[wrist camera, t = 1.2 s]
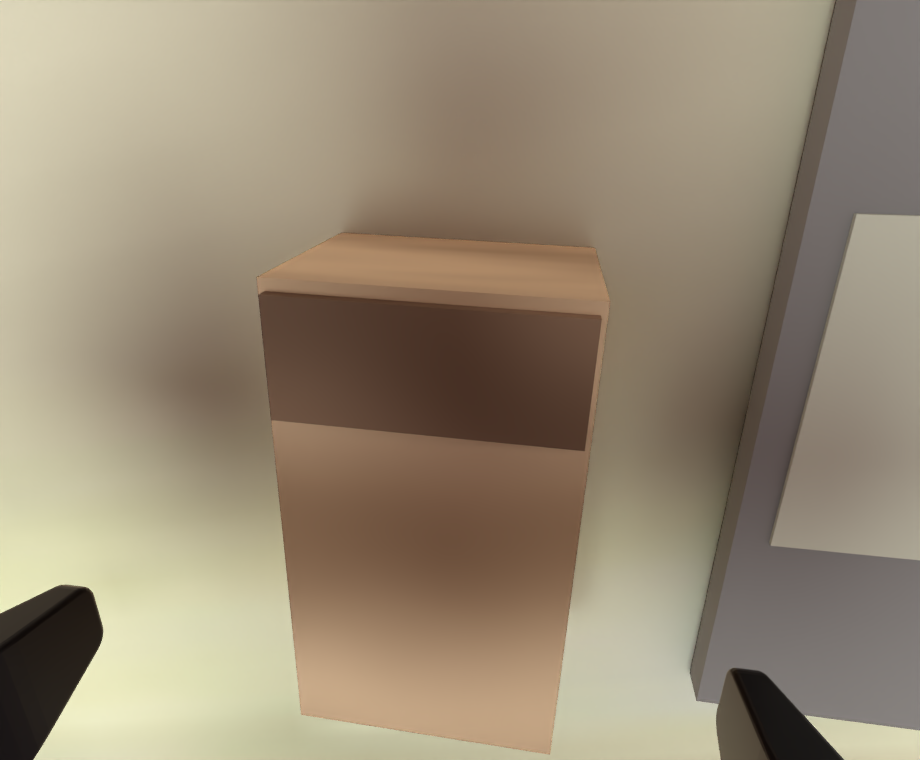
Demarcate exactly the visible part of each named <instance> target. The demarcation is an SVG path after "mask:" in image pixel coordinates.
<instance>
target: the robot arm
mask: <svg viewBox="0 0 920 760" xmlns="http://www.w3.org/2000/svg"><path fill="white" fill-rule="evenodd" d="M102 637H103V626H102V622H101V619H100V615H99V612H98V608H97V605H96V601H95V598H94V595H93V592H92V591H91V590H90V589H89V588H86V587H81V586H73V585H60V586H57V587H54V588H52V589H50V590H48V591H46V592H44V593H42V594H40V595H38V596H36V597H34V598H32V599H30V600H28V601H25V602H23V603H21V604H19V605H17V606H15V607H13V608H11V609H9V610H7V611H5V612H3V613H1V614H0V760H33V759H34V758H35V756H36V755H37V753H38V752H39V750H40V748H41V747H42V745H43V743H44V742H45V740H46V738H47V737H48V735H49V734H50V732H51V730H52V728H53V727H54V725H55V723H56V721H57V720H58V718H59V716H60V715H61V713H62V711H63V709H64V708H65V706H66V704H67V702H68V701H69V699H70V697H71V695H72V694H73V692H74V690H75V688H76V687H77V685H78V683H79V681H80V680H81V678H82V676H83V674H84V673H85V671H86V669H87V667H88V666H89V664H90V662H91V661H92V659H93V657H94V655H95V654H96V652H97V650H98V648H99V646H100V644H101V641H102ZM716 728H717V736H718V743H719V750H720V756H721V760H844V759H843V758H842V757H841V756H840V755H839V754H838V753H837V752H836V750H835V749H834V748H833V747H832V746H831V745H830V744H829V743H828V742H827V741H826V739H825V738H824V737H823V736H822V735H821V734H820V733H819V732H818V731H817V729H816V728H815V727H814V726H813V725H812V724H811V723H810V722H809V721H808V720H807V718H806V717H805V716H804V715H803V714H802V713H801V712H800V711H799V710H798V709H797V707H796V706H795V705H794V704H793V703H792V702H791V701H790V700H789V699H788V698H787V696H786V695H785V694H784V693H783V692H782V691H781V690H780V689H779V688H778V686H777V685H776V684H775V683H774V682H773V681H772V680H771V679H770V678H769V677H768V676H767V675H766V674H765V673H763V672H761V671H758V670H750V669H742V668H731V669H729V670H728V672H727V674H726V677H725V681H724V685H723V689H722V693H721V697H720V701H719V705H718V709H717V715H716Z"/></svg>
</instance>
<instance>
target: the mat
mask: <svg viewBox="0 0 920 760" xmlns="http://www.w3.org/2000/svg"><path fill="white" fill-rule="evenodd" d="M731 668H742V669H750V670H758V671H761V672H763V673H765V674H766V675H767V676H768V677H769V678H770V679H771V680H772V681H773V682H774V683H775V684H776V685H777V686H778V688H779V689H780V690H781V691H782V692H783V693H784V694H785V695H786V696H787V698H788V699H789V700H790V701H791V702H792V703H793V704H794V705H795V706H796V707H797V709H798V710H799V711H800V712H801V713H802V714H803V715H808V716H816V717H823V718H831V719H838V720H846V721H853V722H861V723H869V724H876V725H884V726H891V727H899V728H906V729H914V730H920V0H836V4H835V8H834V13H833V17H832V22H831V27H830V31H829V36H828V40H827V45H826V50H825V54H824V59H823V63H822V68H821V73H820V77H819V82H818V86H817V91H816V96H815V100H814V105H813V109H812V114H811V119H810V123H809V128H808V132H807V137H806V142H805V146H804V151H803V155H802V160H801V165H800V169H799V174H798V178H797V183H796V188H795V192H794V197H793V201H792V206H791V210H790V215H789V220H788V224H787V229H786V233H785V238H784V243H783V247H782V252H781V256H780V261H779V266H778V270H777V275H776V279H775V284H774V289H773V293H772V298H771V302H770V307H769V312H768V316H767V321H766V325H765V330H764V335H763V339H762V344H761V348H760V353H759V358H758V362H757V367H756V371H755V376H754V381H753V385H752V390H751V394H750V399H749V404H748V408H747V413H746V417H745V422H744V427H743V431H742V436H741V440H740V445H739V450H738V454H737V459H736V463H735V468H734V473H733V477H732V482H731V486H730V491H729V496H728V500H727V505H726V509H725V514H724V519H723V523H722V528H721V532H720V537H719V542H718V546H717V551H716V555H715V560H714V565H713V569H712V574H711V578H710V583H709V588H708V592H707V597H706V601H705V606H704V611H703V615H702V620H701V624H700V629H699V634H698V638H697V643H696V647H695V652H694V657H693V661H692V666H691V670H690V675H691V680H692V684H693V688H694V692H695V697H696V701H702V702H709V703H717V704H719V701H720V697H721V693H722V689H723V685H724V681H725V677H726V674H727V672H728V670H729V669H731Z"/></svg>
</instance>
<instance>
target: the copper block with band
mask: <svg viewBox="0 0 920 760" xmlns="http://www.w3.org/2000/svg"><path fill="white" fill-rule="evenodd" d="M257 287H258V297H259V307H260V316H261V326H262V336H263V346H264V355H265V365H266V375H267V385H268V394H269V404H270V414H271V423H272V433H273V443H274V453H275V463H276V472H277V482H278V492H279V502H280V511H281V521H282V531H283V541H284V550H285V560H286V570H287V580H288V590H289V599H290V609H291V619H292V629H293V638H294V648H295V658H296V668H297V677H298V687H299V697H300V707H301V715H307V716H313V717H319V718H325V719H332V720H338V721H344V722H350V723H357V724H363V725H369V726H375V727H382V728H388V729H394V730H400V731H407V732H413V733H419V734H425V735H432V736H438V737H444V738H450V739H457V740H463V741H469V742H475V743H482V744H488V745H494V746H500V747H507V748H513V749H519V750H525V751H532V752H538V753H544V754H550V750H551V743H552V735H553V728H554V720H555V713H556V705H557V698H558V690H559V683H560V675H561V668H562V660H563V653H564V645H565V638H566V630H567V623H568V615H569V608H570V600H571V593H572V585H573V578H574V570H575V563H576V555H577V548H578V540H579V533H580V525H581V518H582V510H583V503H584V495H585V488H586V480H587V473H588V465H589V458H590V450H591V442H592V435H593V427H594V420H595V412H596V405H597V397H598V390H599V382H600V375H601V367H602V360H603V352H604V345H605V337H606V330H607V322H608V315H609V307H610V299H609V296H608V292H607V289H606V285H605V282H604V278H603V275H602V271H601V268H600V264H599V261H598V257H597V254H596V250H595V248H590V247H573V246H556V245H539V244H523V243H506V242H489V241H472V240H456V239H439V238H422V237H405V236H388V235H372V234H355V233H340V234H338V235H336V236H334V237H332V238H330V239H328V240H326V241H325V242H323V243H321V244H319V245H317V246H315V247H313V248H311V249H309V250H307V251H305V252H304V253H302V254H300V255H298V256H296V257H294V258H292V259H290V260H288V261H286V262H284V263H282V264H281V265H279V266H277V267H275V268H273V269H271V270H269V271H267V272H265V273H263V274H261V275H260V276H258V277H257Z"/></svg>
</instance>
